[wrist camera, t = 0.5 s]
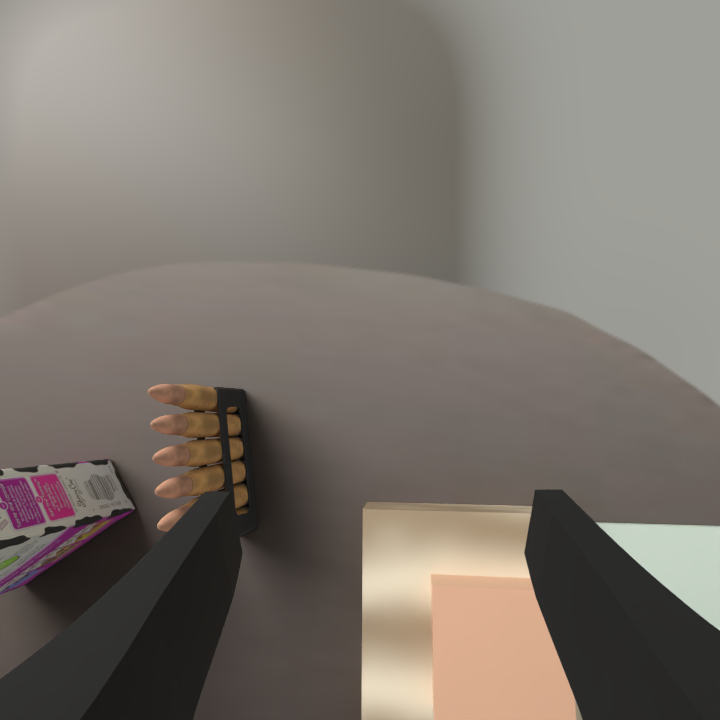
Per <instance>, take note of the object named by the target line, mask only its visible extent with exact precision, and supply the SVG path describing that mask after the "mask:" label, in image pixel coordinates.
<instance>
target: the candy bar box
mask: <svg viewBox="0 0 720 720" xmlns="http://www.w3.org/2000/svg"><path fill="white" fill-rule="evenodd" d="M133 510H135V506H134V504H133V502H132V500H131V498H130V496H129V494H128V493H127V491H126V489H125V488H124V485H123V483H122V481H121V479H120V477H119V475H118V473H117V471H116V469H115V467H114V466H113V464H112V462H111V460H110V459H104V460H95V461H86V462H75V463H65V464H55V465H42V466H35V467H26V468H12V469H0V594H3V593H5V592H8V591H10V590H13V589H16V588H18V587H21V586H23V585H25V584H27V583H28V582H29V581H31V580H32V579H34V578H35V577H37V576H38V575H40V574H41V573H42V572H44V571H45V570H47V569H48V568H50V567H51V566H53V565H54V564H56V563H57V562H59V561H60V560H61V559H63V558H64V557H66V556H67V555H69V554H70V553H72V552H73V551H75V550H76V549H77V548H79V547H80V546H82V545H83V544H85V543H86V542H88V541H89V540H91V539H92V538H94V537H95V536H97V535H98V534H100V533H101V532H103V531H104V530H105V529H107V528H108V527H110V526H111V525H113V524H114V523H116V522H117V521H119V520H120V519H122V518H123V517H125V516H126V515H128V514H129V513H131V512H132V511H133Z"/></svg>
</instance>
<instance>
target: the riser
mask: <svg viewBox="0 0 720 720" xmlns="http://www.w3.org/2000/svg"><path fill="white" fill-rule="evenodd" d="M531 511H532V506H508V505H468V504H429V503H389V502H367V503H366V505H365V506H364V508H363V574H362V720H433V702H432V632H431V574H443V575H467V576H491V577H515V578H530V574H529V570H528V566H527V562H526V558H525V554H524V551H525V545H526V540H527V534H528V528H529V523H530V517H531ZM575 708H576V720H582V717H581V714H580V711H579V708H578V705H577V703H576V700H575Z"/></svg>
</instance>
